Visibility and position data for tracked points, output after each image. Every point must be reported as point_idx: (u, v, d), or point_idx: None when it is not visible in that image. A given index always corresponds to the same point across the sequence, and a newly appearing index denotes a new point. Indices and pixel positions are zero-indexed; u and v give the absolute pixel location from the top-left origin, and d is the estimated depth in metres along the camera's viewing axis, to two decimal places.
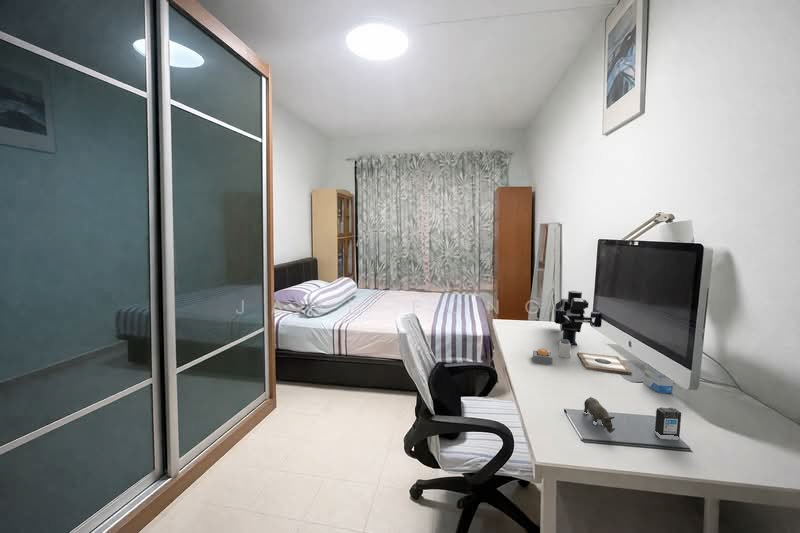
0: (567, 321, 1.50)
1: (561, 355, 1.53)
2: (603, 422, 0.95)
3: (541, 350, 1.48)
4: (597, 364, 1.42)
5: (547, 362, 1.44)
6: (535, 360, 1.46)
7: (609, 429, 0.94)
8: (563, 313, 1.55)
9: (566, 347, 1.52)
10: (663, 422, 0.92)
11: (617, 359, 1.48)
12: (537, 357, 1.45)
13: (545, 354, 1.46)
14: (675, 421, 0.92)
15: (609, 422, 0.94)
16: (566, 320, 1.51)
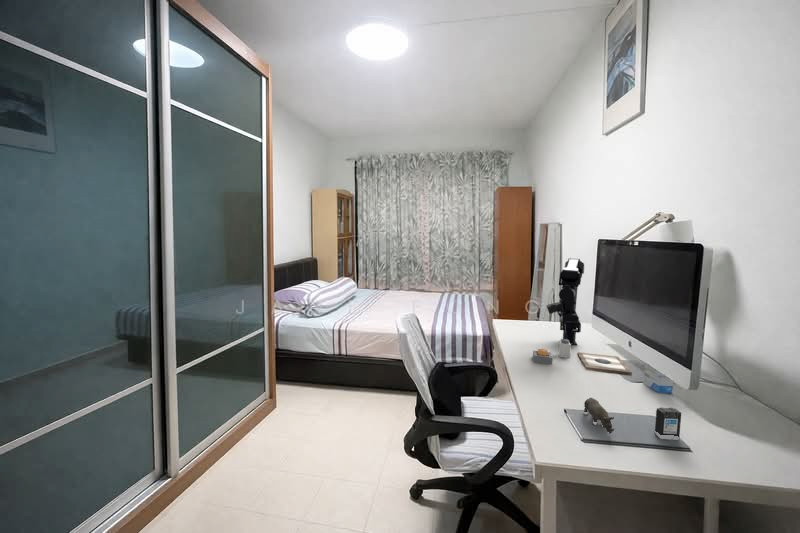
0: None
1: (561, 355, 1.53)
2: (603, 422, 0.95)
3: (541, 350, 1.48)
4: (597, 364, 1.42)
5: (547, 362, 1.44)
6: (535, 360, 1.46)
7: (609, 429, 0.94)
8: (559, 315, 1.60)
9: (566, 347, 1.52)
10: (663, 422, 0.92)
11: (617, 359, 1.48)
12: (537, 357, 1.45)
13: (545, 354, 1.46)
14: (675, 421, 0.92)
15: (609, 422, 0.94)
16: None
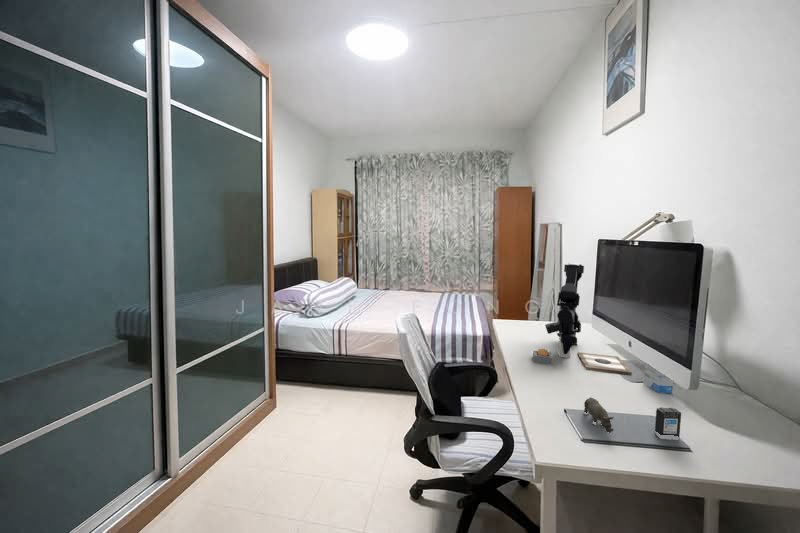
0: None
1: (561, 355, 1.53)
2: (602, 422, 0.95)
3: (541, 350, 1.48)
4: (597, 364, 1.42)
5: (547, 362, 1.44)
6: (535, 360, 1.46)
7: (608, 429, 0.94)
8: None
9: None
10: (663, 422, 0.92)
11: (617, 359, 1.48)
12: (537, 357, 1.45)
13: (545, 354, 1.46)
14: (675, 421, 0.92)
15: (608, 422, 0.94)
16: None
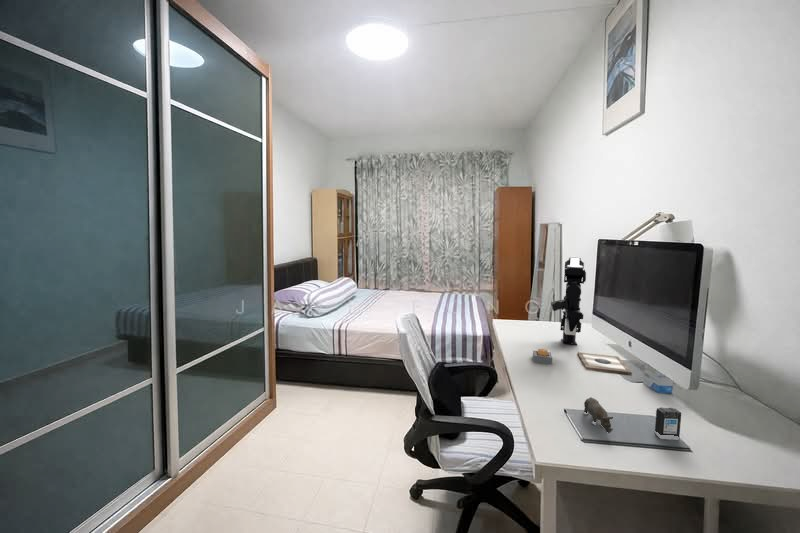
0: None
1: (567, 332, 1.51)
2: (601, 422, 0.95)
3: (541, 350, 1.48)
4: (597, 364, 1.42)
5: (547, 362, 1.44)
6: (535, 360, 1.46)
7: (607, 429, 0.94)
8: (564, 314, 1.56)
9: None
10: (663, 422, 0.92)
11: (617, 359, 1.48)
12: (537, 357, 1.45)
13: (545, 354, 1.46)
14: (675, 421, 0.92)
15: (607, 422, 0.94)
16: None
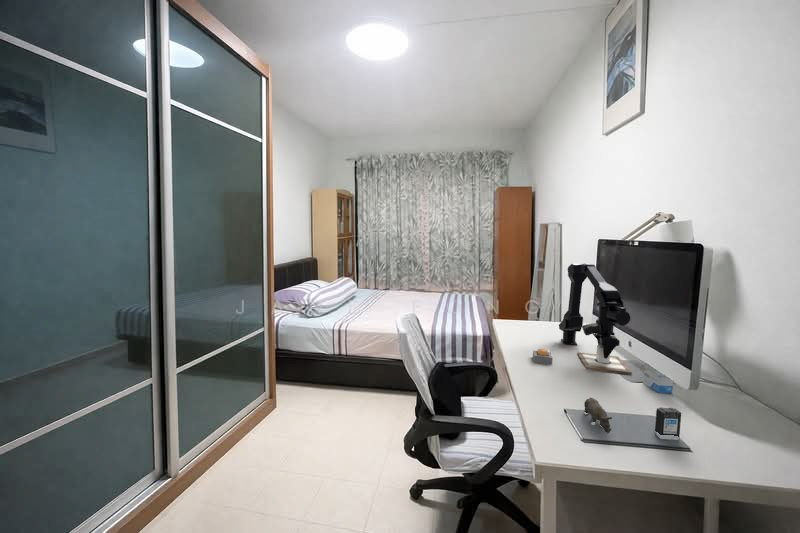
0: None
1: (600, 360, 1.44)
2: (601, 422, 0.95)
3: (541, 350, 1.48)
4: (597, 364, 1.42)
5: (547, 362, 1.44)
6: (535, 360, 1.46)
7: (606, 429, 0.93)
8: None
9: None
10: (663, 422, 0.92)
11: (617, 359, 1.48)
12: (537, 357, 1.45)
13: (545, 354, 1.46)
14: (675, 421, 0.92)
15: (606, 422, 0.94)
16: None
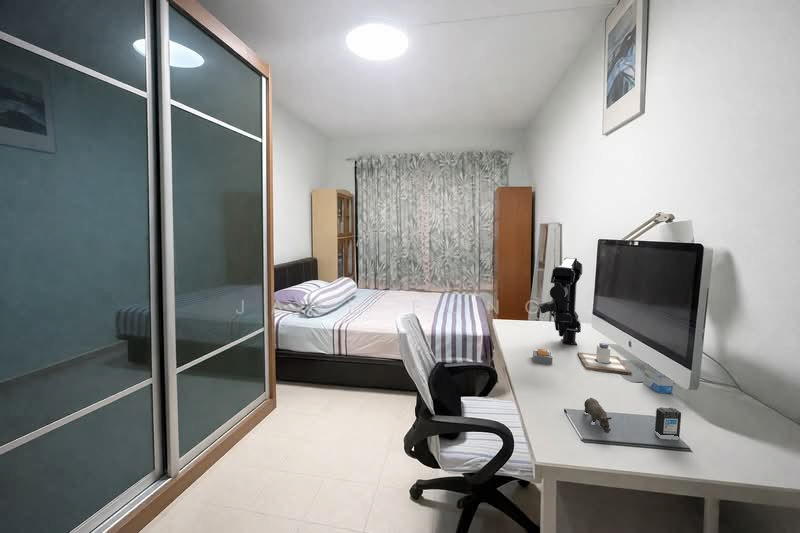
0: None
1: (600, 360, 1.44)
2: (600, 422, 0.95)
3: (541, 350, 1.48)
4: (597, 364, 1.42)
5: (547, 362, 1.44)
6: (535, 360, 1.46)
7: (605, 429, 0.93)
8: (552, 315, 1.52)
9: (605, 352, 1.43)
10: (663, 422, 0.92)
11: (617, 359, 1.48)
12: (537, 357, 1.45)
13: (545, 354, 1.46)
14: (675, 421, 0.92)
15: (606, 422, 0.94)
16: None
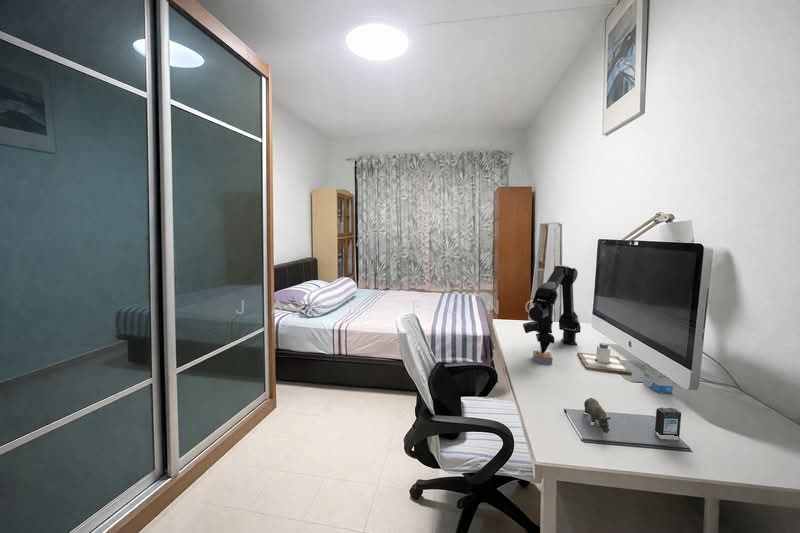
0: None
1: (600, 360, 1.44)
2: (599, 422, 0.95)
3: None
4: (597, 364, 1.42)
5: (547, 362, 1.44)
6: (535, 360, 1.46)
7: (605, 429, 0.93)
8: None
9: (605, 352, 1.43)
10: (663, 422, 0.92)
11: (617, 359, 1.48)
12: (537, 357, 1.45)
13: None
14: (675, 421, 0.92)
15: (605, 422, 0.94)
16: None
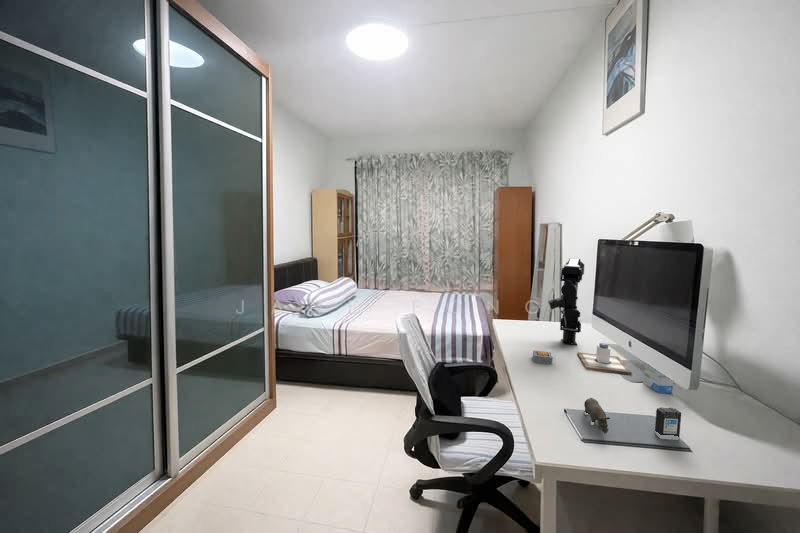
0: None
1: (600, 360, 1.44)
2: (598, 422, 0.95)
3: (541, 352, 1.48)
4: (597, 364, 1.42)
5: (547, 362, 1.44)
6: (535, 360, 1.46)
7: (603, 429, 0.93)
8: (562, 313, 1.58)
9: (605, 352, 1.43)
10: (663, 422, 0.92)
11: (617, 359, 1.48)
12: (537, 357, 1.45)
13: None
14: (675, 421, 0.92)
15: (604, 422, 0.94)
16: None
